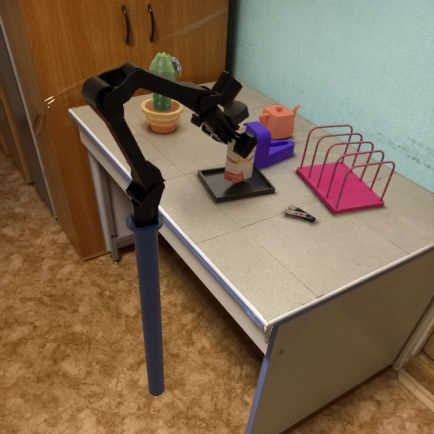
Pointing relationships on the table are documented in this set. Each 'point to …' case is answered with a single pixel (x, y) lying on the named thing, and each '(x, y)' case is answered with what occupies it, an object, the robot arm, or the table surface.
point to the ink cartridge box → (238, 163)
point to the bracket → (268, 146)
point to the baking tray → (234, 185)
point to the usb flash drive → (299, 214)
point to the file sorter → (343, 178)
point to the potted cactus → (159, 105)
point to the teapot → (278, 120)
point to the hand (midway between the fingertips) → (242, 149)
